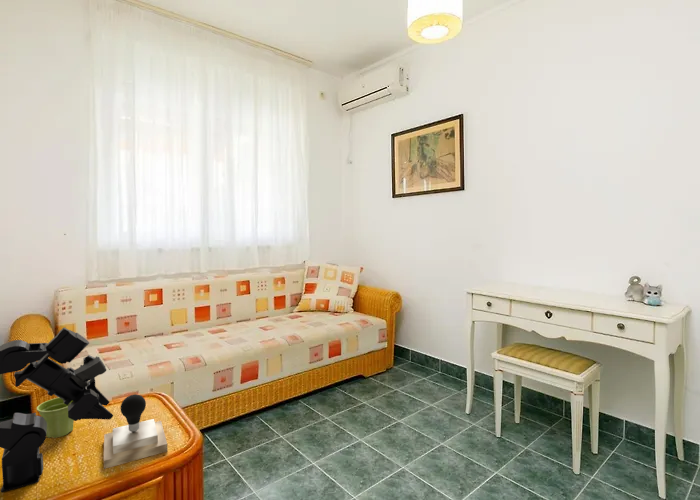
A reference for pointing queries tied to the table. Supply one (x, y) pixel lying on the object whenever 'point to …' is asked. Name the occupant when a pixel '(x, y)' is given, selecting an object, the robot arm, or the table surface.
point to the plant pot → (56, 417)
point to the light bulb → (133, 410)
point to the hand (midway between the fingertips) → (109, 410)
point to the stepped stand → (134, 443)
